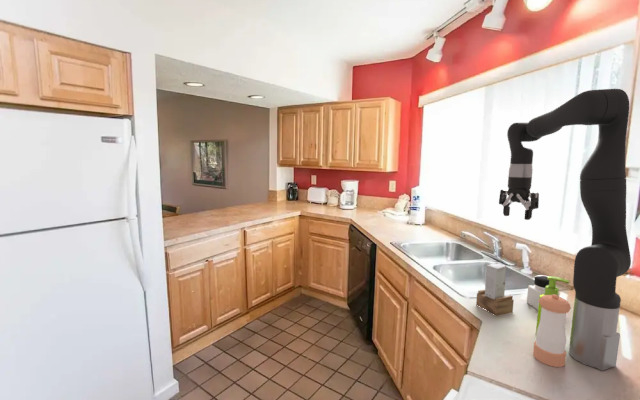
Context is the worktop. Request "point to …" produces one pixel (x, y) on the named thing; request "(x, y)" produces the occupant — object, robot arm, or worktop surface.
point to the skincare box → (495, 280)
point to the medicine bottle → (537, 290)
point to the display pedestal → (495, 304)
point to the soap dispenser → (549, 293)
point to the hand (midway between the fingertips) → (516, 217)
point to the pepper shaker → (551, 331)
